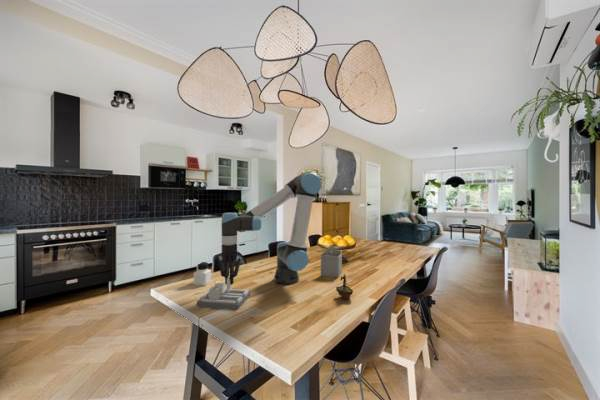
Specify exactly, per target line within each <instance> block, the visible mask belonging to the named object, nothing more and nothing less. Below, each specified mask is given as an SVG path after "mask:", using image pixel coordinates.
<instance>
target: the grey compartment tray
mask: <svg viewBox="0 0 600 400" xmlns="http://www.w3.org/2000/svg"><path fill="white" fill-rule="evenodd" d="M250 296H251V291H250V290H249V289H234V288H232V290H231V291H230V292H227V288H226V291H225V292H224V293H221V298H220V299H219V300H211V299H209V292H207V293H205V294H203V295H201V296H200V297H199V300H197V301H196V307H201V308H215V309H227V310H239V309H240V308H242V306H243V305H244V303H245V302H246V301H247V300H248V299H249V298H250Z"/></svg>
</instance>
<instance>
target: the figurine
mask: <svg viewBox="0 0 600 400" xmlns="http://www.w3.org/2000/svg"><path fill="white" fill-rule="evenodd" d="M340 281H343V282H342V285H340V286H336V287H335V291H336V292H337V294H338V296H340V298H342V299H349V298H351V296H352V295H353V293H354V290H353V289H352V288H351V287H349V286H348V282H347V276H346V274H343V276H340Z"/></svg>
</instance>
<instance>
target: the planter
mask: <svg viewBox="0 0 600 400" xmlns="http://www.w3.org/2000/svg"><path fill="white" fill-rule="evenodd" d="M342 265H343V252H342V251H340V249H338V248H337V247H336V246H334V245H332V244H331V245H329V247H327V248H326V249H325V250H324V251H323V252H322V253H321V254H320V277H325V276H326V278H327V277H328V278H335V277H337V279H338V278H339V277H341V275H342V273H343V271H342V270H343V269H342V268H343V267H342Z"/></svg>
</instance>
